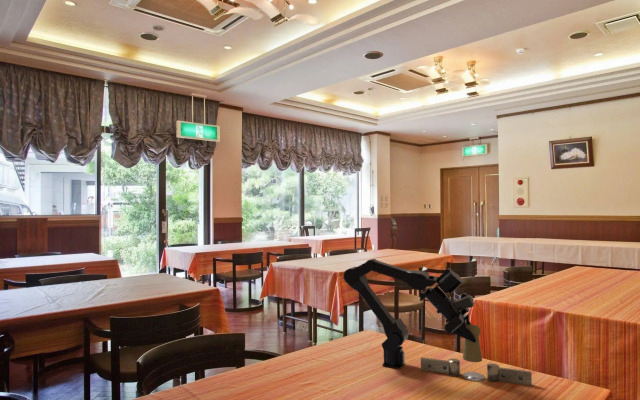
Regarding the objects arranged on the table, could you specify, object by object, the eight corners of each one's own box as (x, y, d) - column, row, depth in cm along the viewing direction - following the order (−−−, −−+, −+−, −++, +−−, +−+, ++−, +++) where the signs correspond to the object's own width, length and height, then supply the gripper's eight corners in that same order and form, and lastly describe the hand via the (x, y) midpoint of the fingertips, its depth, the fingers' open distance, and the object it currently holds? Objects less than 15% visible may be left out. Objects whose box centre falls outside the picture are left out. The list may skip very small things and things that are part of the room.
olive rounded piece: (485, 361, 134) (485, 327, 134) (468, 362, 133) (468, 328, 133) (475, 355, 140) (475, 322, 140) (459, 356, 139) (458, 323, 139)
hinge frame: (419, 373, 140) (419, 359, 140) (423, 366, 146) (422, 353, 146) (532, 389, 126) (531, 374, 126) (531, 380, 132) (530, 366, 132)
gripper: (454, 291, 130) (493, 331, 125) (462, 282, 147) (496, 317, 142) (429, 314, 133) (465, 353, 128) (440, 302, 150) (472, 337, 145)
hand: (476, 339), depth 136 cm, fingers closed on olive rounded piece, 5 cm apart
